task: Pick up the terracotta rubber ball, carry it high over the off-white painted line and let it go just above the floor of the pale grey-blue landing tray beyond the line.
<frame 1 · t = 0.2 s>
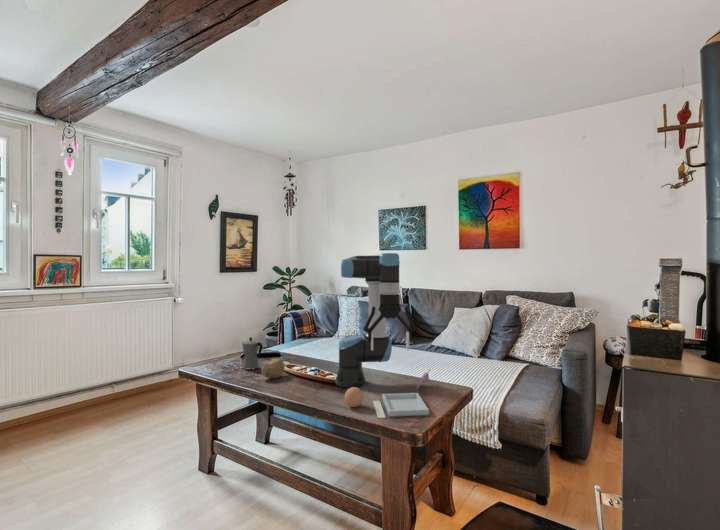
hand: (390, 349, 142), 27 cm above the table, tool pointing down, fingers open, 13 cm apart
foul line: (378, 409, 154), on the table
coffeepot: (252, 368, 218), on the table
low-poly potato: (272, 378, 199), on the table
lily: (425, 387, 182), on the table
landing tray: (404, 406, 157), on the table
ball: (354, 406, 157), on the table
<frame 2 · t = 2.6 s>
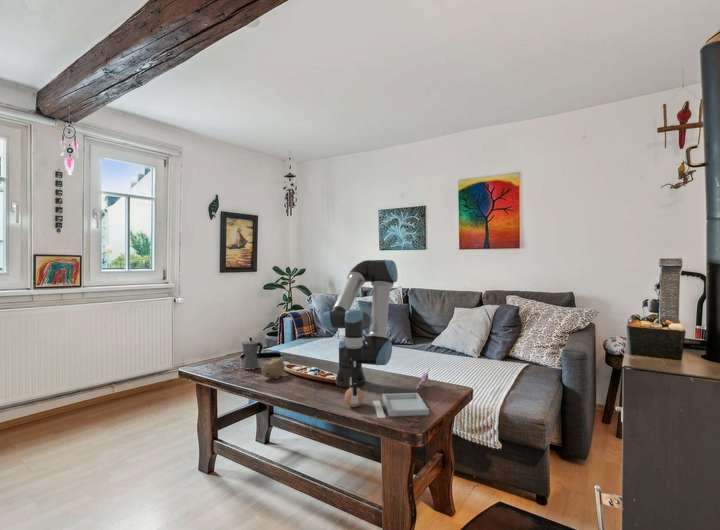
hand: (353, 397, 157), 4 cm above the table, tool pointing down, fingers open, 13 cm apart
nothing on the table moved.
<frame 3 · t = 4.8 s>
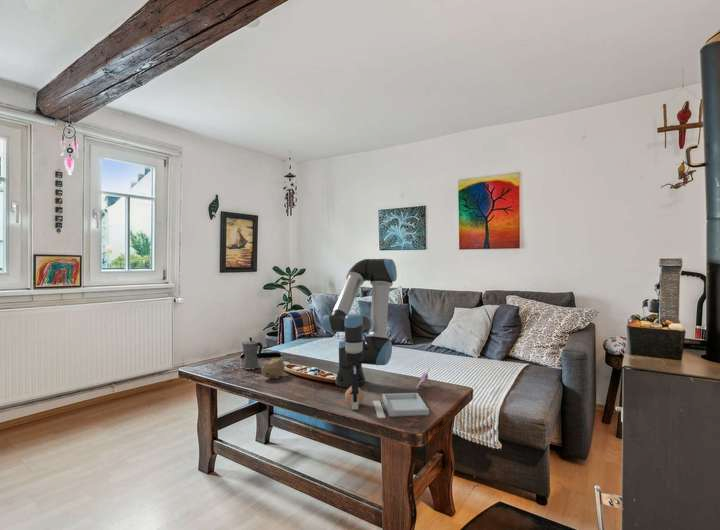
hand: (354, 405, 157), 1 cm above the table, tool pointing down, fingers closed on ball, 8 cm apart
ball: (354, 405, 157), on the table, touching gripper
everything else where it was.
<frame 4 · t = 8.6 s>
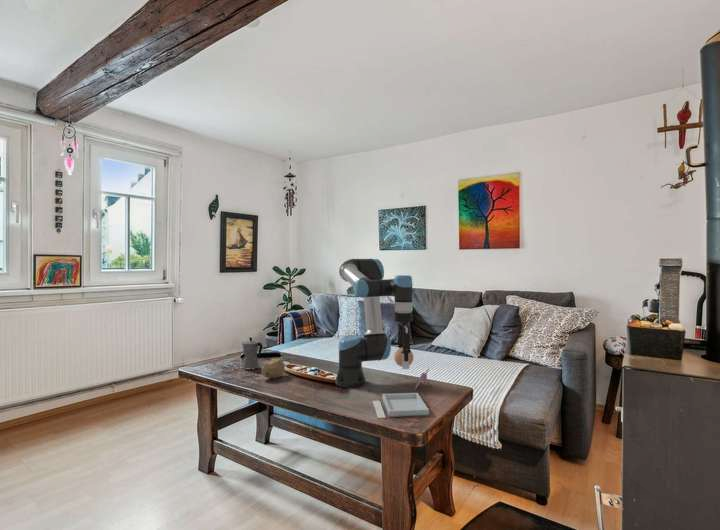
hand: (403, 365, 157), 17 cm above the table, tool pointing down, fingers closed on ball, 8 cm apart
ball: (403, 366, 157), point 17 cm above the table, touching gripper
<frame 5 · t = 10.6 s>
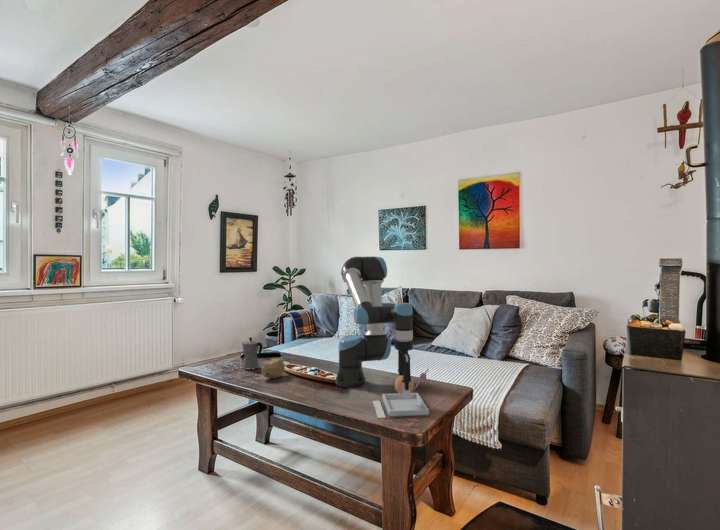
hand: (404, 394, 157), 5 cm above the table, tool pointing down, fingers closed on ball, 8 cm apart
ball: (404, 394, 157), point 5 cm above the table, touching gripper
when the fingers open (2 cm above the table, at t = 12.3 s): ball drops 1 cm, resting on landing tray.
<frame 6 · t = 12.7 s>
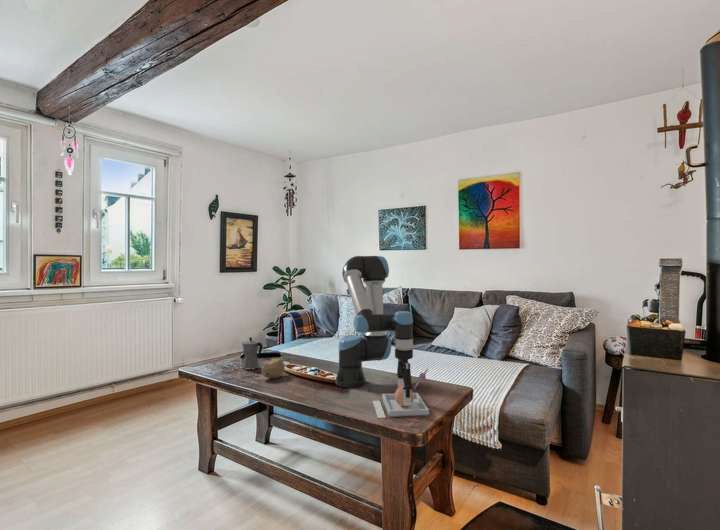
hand: (404, 399, 157), 3 cm above the table, tool pointing down, fingers open, 13 cm apart
ball: (404, 405, 157), resting on landing tray
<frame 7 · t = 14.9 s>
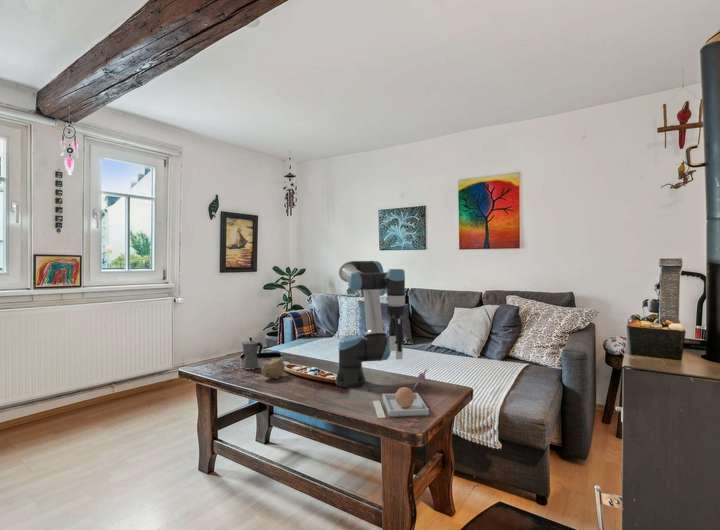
hand: (395, 354, 159), 21 cm above the table, tool pointing down, fingers open, 13 cm apart
ball: (404, 405, 157), point 1 cm above the table, tilted 20°, touching landing tray
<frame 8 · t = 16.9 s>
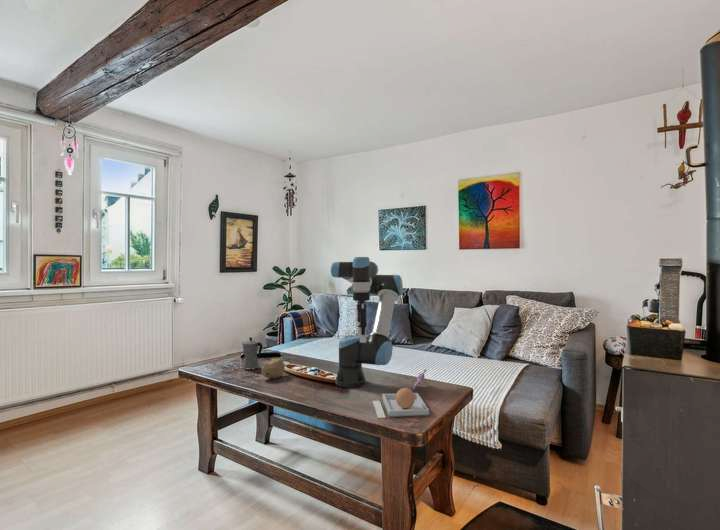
hand: (361, 339, 166), 27 cm above the table, tool pointing down, fingers open, 13 cm apart
ball: (404, 404, 157), point 1 cm above the table, tilted 34°, touching landing tray
at the end: ball inside the target area on the landing tray (0.1 cm from its centre), point 1.1 cm above the landing tray's base; the gripper is holding nothing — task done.
